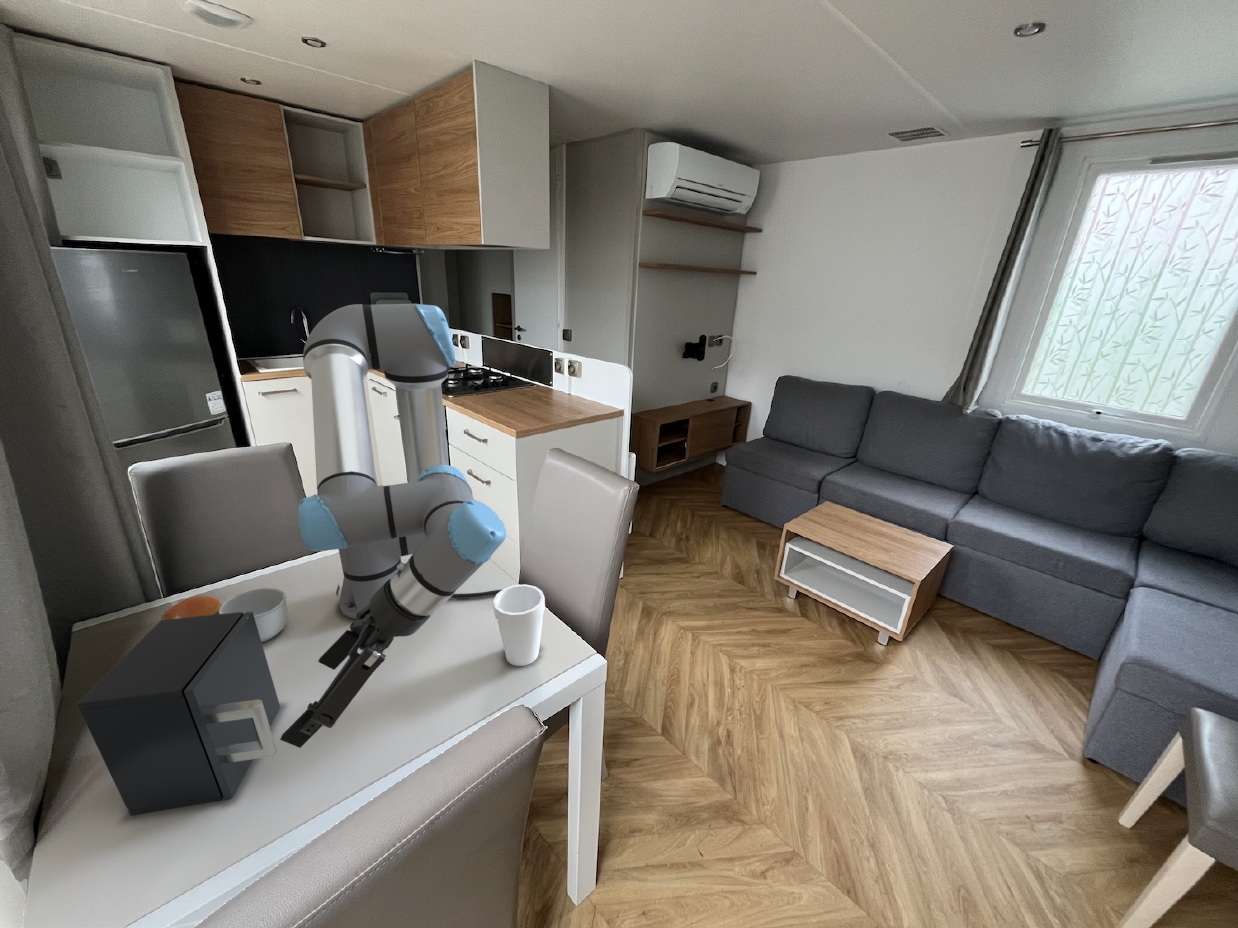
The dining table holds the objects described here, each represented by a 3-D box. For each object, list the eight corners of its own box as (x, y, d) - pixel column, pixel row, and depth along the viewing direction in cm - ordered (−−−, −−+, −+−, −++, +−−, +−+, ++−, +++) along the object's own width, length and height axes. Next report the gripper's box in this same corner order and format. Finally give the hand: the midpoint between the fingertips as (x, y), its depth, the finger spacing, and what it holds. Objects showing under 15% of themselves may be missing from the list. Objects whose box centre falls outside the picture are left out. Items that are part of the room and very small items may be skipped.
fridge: (272, 709, 84) (243, 611, 77) (222, 800, 69) (180, 690, 62) (198, 719, 81) (161, 619, 74) (130, 816, 67) (76, 703, 60)
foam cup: (556, 654, 97) (554, 599, 93) (517, 679, 91) (513, 621, 86) (526, 631, 103) (523, 578, 99) (488, 654, 97) (483, 598, 92)
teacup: (250, 618, 105) (241, 586, 103) (303, 616, 106) (295, 584, 104) (204, 665, 92) (192, 631, 90) (265, 663, 93) (255, 628, 91)
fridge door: (318, 702, 85) (293, 607, 78) (278, 790, 70) (244, 683, 63) (274, 708, 84) (245, 612, 77) (224, 799, 69) (183, 691, 62)
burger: (230, 604, 109) (224, 587, 108) (218, 630, 102) (212, 612, 100) (174, 616, 105) (167, 598, 104) (157, 644, 98) (150, 625, 96)
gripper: (405, 536, 76) (317, 627, 78) (362, 646, 53) (240, 771, 56) (444, 562, 79) (358, 650, 81) (420, 677, 56) (301, 794, 58)
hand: (310, 699), depth 68 cm, fingers open, 13 cm apart
